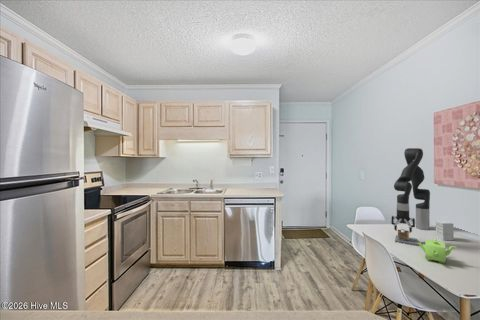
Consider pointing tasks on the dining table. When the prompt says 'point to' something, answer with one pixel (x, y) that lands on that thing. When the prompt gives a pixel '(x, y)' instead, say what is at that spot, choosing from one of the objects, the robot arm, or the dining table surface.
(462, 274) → the dining table surface
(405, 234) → the wooden square frame
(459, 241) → the dining table surface
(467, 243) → the dining table surface
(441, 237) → the supplement box
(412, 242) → the post stand
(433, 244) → the kettle
